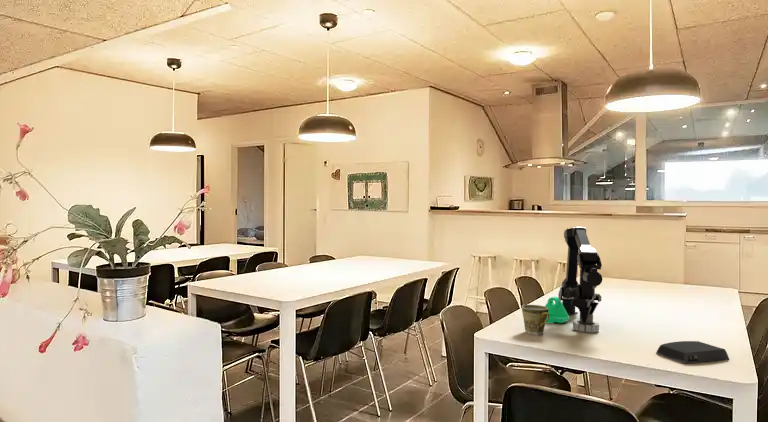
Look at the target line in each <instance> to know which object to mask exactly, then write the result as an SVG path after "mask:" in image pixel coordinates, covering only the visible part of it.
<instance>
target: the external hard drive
mask: <svg viewBox="0 0 768 422" xmlns="http://www.w3.org/2000/svg"><path fill="white" fill-rule="evenodd" d="M655 354H656V355H659V356H660V357H664V358H667V359H669V360H673V361H675V362H678V363H681V364H683V365H693V364H694V365H697V364H698V365H699V364H706V363H717V362H723V361H729V360H730V357H729V354H728V353H727V351H726V349H725V348H721V347H718V346H715V345H711V344H709V343H705V342H702V341H698V340H697V341H696V340H693V341H692V340H682V341H681V340H680V341H679V340H678V341H672V342H666V343H661V344H660V345H659V347H658V348H657V350H656V352H655Z"/></svg>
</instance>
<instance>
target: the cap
mask: <svg viewBox="0 0 768 422" xmlns="http://www.w3.org/2000/svg"><path fill="white" fill-rule="evenodd" d="M579 320H580V321H579V323H580V324H586V325H593V321H594V313H593V314H589V315H588V317H587V320H586V322H585V323H584V322H582V319H581V315H580V314H579Z"/></svg>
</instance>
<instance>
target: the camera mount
mask: <svg viewBox="0 0 768 422" xmlns="http://www.w3.org/2000/svg"><path fill="white" fill-rule="evenodd" d="M544 306H545V307H548V308H549V310H548V313H549V316H550V318H549V320H548V321H546V322H545V323H546V324H547V323H549V324H556V323H561V324H562V323H565V322H568V321H569V320H570V315H568V313H567V312H566V310H565V308H564V306H563V304H562V300H560V299H559V297H558V296H556V295H555V296H552V297H550V298H548V300H547V303H546V304H545V305H544ZM547 319H548V315H547V318H546V320H547Z"/></svg>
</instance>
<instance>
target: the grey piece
mask: <svg viewBox="0 0 768 422" xmlns="http://www.w3.org/2000/svg"><path fill="white" fill-rule="evenodd" d="M579 321H580V319H576V320H573V321H572V330H574V331H577V332H580V333H585V334H596V333H599V330H600V324H599V322H598V321H597V322H596V321H594V320H593V325H586V324H580V323H579Z"/></svg>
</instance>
